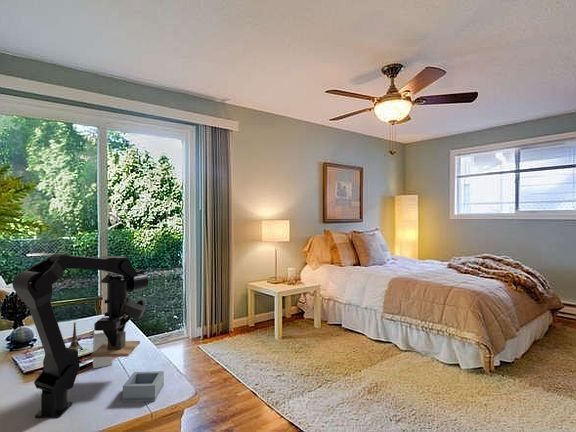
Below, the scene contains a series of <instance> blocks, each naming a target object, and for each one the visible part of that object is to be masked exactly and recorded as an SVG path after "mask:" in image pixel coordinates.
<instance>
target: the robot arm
mask: <svg viewBox="0 0 576 432" xmlns="http://www.w3.org/2000/svg"><path fill="white" fill-rule="evenodd" d="M67 269H75V270H96V271H100V272H103V273H106V275H105V277H104V278H102V279H101V280H100V283H102V284H106V285H107V286H106V288H107V289H106V294H107V295H106V299H104V304H106V312H104V314H103V316H104V317H103V316H102V317H101V318H100V319H97V321H96V322H95V323H94V325H93V331H94V330H95V331H103V332H104V333H105V335H106V337H107V338H108V340H109V342H110V344H111V346H116V342H117V336H118V331H125V329H126V325H127V323H128V322H129V321H130V320H131V319H132V318H133V319H135V320H140V319H141V318H142V317H143V316H144V314H145V311H146V310H147V306H146V303H145V300H144V299H139V300H138V301H137V302H136V301H134V302H133V301H131V298H130V296H129V295H128V293H132V292H137V291H140V290H141V291H142V290H145V289H146V288H147V287H148V286H149V282H150V281H149V278H148V276H147V274H146V273H145V270H144V269H137V270H136V269H135V268H134V266H133V265H132V263H131V261H130V258H129V257H127V256H119V255H106V256H100V257H99V256H98V257H92V256H82V255H70V254H66V253H54V254H51V255H50V256H49V257H47V258H46V259H44V260H42V261H40V262H38V263H37V264H34V265H32V266H30V267H29V268H28V269H27V270H25V271H21V272H19V273H18V274H17V275H16V276H15V277H14V279H13V280H12V283H11V285H12V288H13V290H14V292H15V293H16V295H17V297H18V298H19V299H20V300H21V301H22V302H23V303H24V304H25V305H26V306H27V308H28V309H29V312H30V315H31V319H32V320H33V324H34V326H35V329H36V331H37V334H38V337H39V340H40V342H41V345H42V348H43V351H44V357H43V361H42V364H43V370H42V371H41V372H40V374H39V375H38V376H37V378H36V379H34V382H33V384H34V387H35V388H36V389H39V390H41V394H40V395H41V396H40V398H41V399H40V401H41V402H40V405H41V407H40V408H41V409H40V410H39V411H38V412H36V414H35V415H34V418H59V417H62V416H63V414H65V412H66V411H68V410H69V408H70V407H71V406H72V405H73V401H68V390H71V389H72V388H73V387H74V385H75V382H76V378H77V375H78V372H80V369H81V366H80V364H81V363H82V361H81V360H80V358H79V355H78V352H77V350H74V349H71V348H69V347H67V346H66V344H65V340H64V337H63V334H62V331H61V329H60V326H59V322H58V319H57V317H56V314H55V311H54V308H53V305H52V297H53V292H54V289H53V284H55V283H56V282H57V281H58V280H59V279H60V278H61V277H62V275H63V273H64V272H65V271H66V270H67ZM111 274H112V275H111ZM113 275H114V276H113Z"/></svg>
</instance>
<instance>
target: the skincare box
mask: <svg viewBox="0 0 576 432" xmlns="http://www.w3.org/2000/svg"><path fill="white" fill-rule="evenodd" d="M105 342H108V338H107V337H106V335H105V333H104V332H103V331H95V330H94V329H93V343H92V353H93V352H94V351H96V350H97V349H98V348H99V347H100V346H101V345H103V344H104V343H105ZM113 358H114V357H92V367H93V369H96V368H97V369H99V368H104V367H108V366H112V365H113Z"/></svg>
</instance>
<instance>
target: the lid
mask: <svg viewBox="0 0 576 432" xmlns="http://www.w3.org/2000/svg"><path fill="white" fill-rule="evenodd" d="M126 333H127V332H126V331H125V330H124V331H118V336H117V342H116V346H111V344H110V342H109V340H108V342H105V343H104V344H103V345H101V346H100V347H99V348H98V349H97V350H96V351H94V352H93V351H92V353H91V354H90V358H93V357H113V358H118V357H119V358H122V357H129V356H130V355H132V353H133V352H134V351H135V349H136V348H137V347H138V346H139V345H140V344H141V340H127V341H126Z"/></svg>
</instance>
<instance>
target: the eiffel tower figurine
mask: <svg viewBox="0 0 576 432" xmlns="http://www.w3.org/2000/svg"><path fill="white" fill-rule="evenodd" d="M76 323H77V322H76V321H74V323H73V330H72V331H73V333H72V339H71V343H70V345H69V346H68V348H71V349H74V350H77V352H78V351H81V350H83V349H84V347H82V346H81V344H80V343H79V341H78V338H77V328H76V325H77V324H76Z"/></svg>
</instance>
